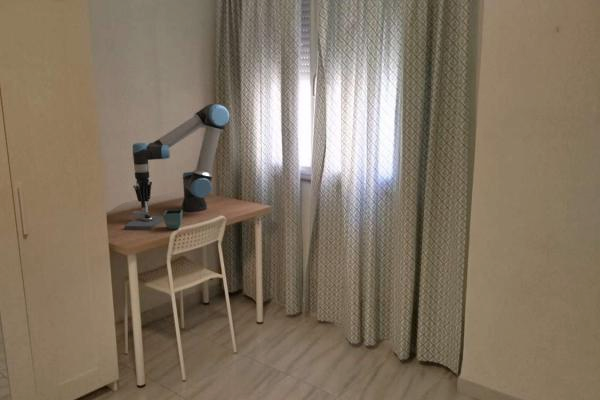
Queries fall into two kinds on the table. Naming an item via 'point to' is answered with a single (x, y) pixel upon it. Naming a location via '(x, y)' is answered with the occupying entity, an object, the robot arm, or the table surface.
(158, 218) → the dial plate
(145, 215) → the dial lever
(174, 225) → the flower pot
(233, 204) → the table surface
